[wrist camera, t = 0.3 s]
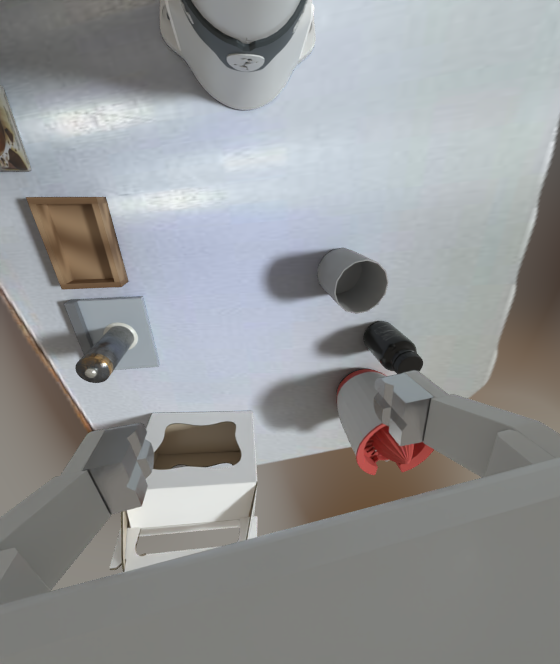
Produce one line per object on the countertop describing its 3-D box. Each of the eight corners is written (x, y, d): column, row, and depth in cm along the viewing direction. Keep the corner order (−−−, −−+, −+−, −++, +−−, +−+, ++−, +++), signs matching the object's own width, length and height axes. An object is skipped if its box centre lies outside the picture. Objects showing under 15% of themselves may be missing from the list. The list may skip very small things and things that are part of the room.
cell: (103, 326, 46) (67, 362, 36) (130, 325, 47) (102, 359, 37) (111, 348, 48) (78, 387, 38) (136, 346, 49) (111, 384, 39)
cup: (369, 269, 50) (398, 285, 41) (337, 301, 52) (358, 323, 43) (340, 237, 46) (365, 247, 37) (308, 273, 48) (323, 290, 40)
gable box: (156, 454, 63) (105, 619, 39) (150, 412, 57) (85, 575, 33) (250, 450, 67) (257, 597, 42) (253, 410, 61) (264, 554, 37)
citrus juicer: (323, 420, 66) (354, 502, 48) (333, 361, 58) (374, 433, 41) (381, 416, 68) (431, 493, 51) (398, 359, 60) (465, 426, 43)
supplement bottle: (357, 346, 57) (384, 380, 47) (369, 317, 54) (401, 347, 44) (385, 350, 59) (417, 384, 48) (398, 323, 56) (436, 353, 45)
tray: (40, 197, 38) (25, 197, 35) (105, 197, 39) (96, 197, 36) (72, 283, 43) (61, 289, 41) (128, 281, 44) (121, 286, 42)
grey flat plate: (70, 299, 45) (63, 303, 43) (142, 296, 46) (139, 300, 44) (97, 368, 51) (92, 374, 49) (159, 363, 52) (157, 369, 51)
